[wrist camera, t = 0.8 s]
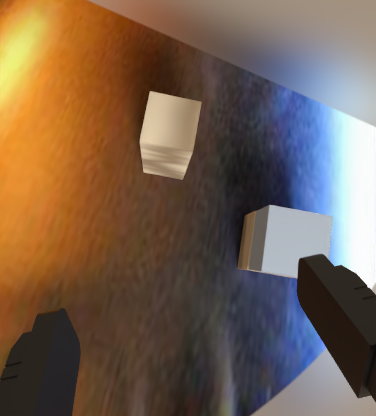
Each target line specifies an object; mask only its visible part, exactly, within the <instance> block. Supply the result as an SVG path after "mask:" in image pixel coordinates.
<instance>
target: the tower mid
mask: <svg viewBox="0 0 376 416" xmlns="http://www.w3.org/2000/svg"><path fill="white" fill-rule="evenodd" d="M331 227H332V216H328V215H323V214H317V213H312V212H306V211H301V210H296V209H290V208H285V207H279V206H274V205H268V206H266V207H264V208H262V209H260V210H257V211H256V216H255V224H254V232H253V239H252V247H251V255H250V262H249V270H253V271H259V272H265V273H271V274H277V275H283V276H289V277H295V278H297V277H298V261H299V259H300V258H302V257H307V256H312V255H316V254H324V255H325V256H326V257H327V258H328V260H329V250H330V239H331Z"/></svg>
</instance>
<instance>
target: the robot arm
mask: <svg viewBox="0 0 376 416" xmlns="http://www.w3.org/2000/svg"><path fill="white" fill-rule="evenodd" d="M297 296H298V300H299V303H300V305H301V307H302V309H303V311H304V312H305V314H306V315H307V317H308V319H309V320H310V322H311V323H312V325H313V327H314V328H315V330H316V331H317V333H318V335H319V336H320V338H321V340H322V341H323V343H324V344H325V346H326V348H327V349H328V351H329V352H330V354H331V356H332V357H333V359H334V360H335V362H336V364H337V365H338V367H339V368H340V370H341V372H342V373H343V375H344V377H345V378H346V380H347V381H348V383H349V385H350V386H351V388H352V389H353V391H354V393H355V394H356V396H357V397H358V398H362V397H366V396H370V395H371V396H372V397H373V399H374V400H375V402H376V295H375V293H374V292H373V291H372V290H371V289H370V288H368V287H367V285H366V284H365V283H364V282H363V281H362V279H361V278H360V277H359V276H358V275H357V274H356V273H354V272H352V271H351V270H349V269H347V268H345V267H344V266H342V265H339V266H335V267H334V265H333V264H332V263H331V262H330V261H329V260H328V258H327V257H326V256H325V255H324V254H316V255H312V256H307V257H302V258H300V259H299V261H298V277H297ZM79 363H80V343H79V339H78V337H77V334H76V332H75V330H74V328H73V326H72V323H71V321H70V319H69V317H68V315H67V312H66V311H65V309H64V308H60V309H55V310H50V311H46V312H41V313H38V315H37V316H36V319H35V322H34V325H33V328H32V332H27V333H23V334H22V335H21V337H20V338H19V339H18V341H17V342H16V343H15V345H14V346H13V347H12V349H11V351H10V354H9V356H8V359H7V362H6V365H5V366H6V368H5V369H4V370H3V373H2V376H1V378H0V380H1V381H0V416H72V411H73V404H74V397H75V390H76V383H77V376H78V369H79Z"/></svg>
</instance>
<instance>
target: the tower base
mask: <svg viewBox="0 0 376 416" xmlns="http://www.w3.org/2000/svg"><path fill="white" fill-rule="evenodd" d="M255 216H256V211H254V212H252V213H250V214H247V215H245V218H244V225H243V232H242V239H241V247H240V254H239V261H238V269H244V270H249V262H250V255H251V247H252V239H253V232H254V224H255ZM250 271H253V270H250ZM256 272H259V271H256ZM262 273H265V272H262ZM267 274H271V273H267ZM273 275H277V274H273ZM279 276H283V275H279ZM285 277H289V276H285ZM291 278H295V277H291Z"/></svg>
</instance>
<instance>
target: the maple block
mask: <svg viewBox="0 0 376 416" xmlns="http://www.w3.org/2000/svg"><path fill="white" fill-rule="evenodd" d="M201 103H202V102H199V101H194V100H190V99H185V98H180V97H175V96H171V95H166V94H161V93H157V92H152V91H150V93H149V98H148V103H147V108H146V112H145V117H144V122H143V127H142V132H141V136H140V148H141V156H142V164H143V172H145V173H150V174H155V175H161V176H166V177H171V178H176V179H181V180H183V177H184V175H185V172H186V169H187V166H188V163H189V161H190V158H191V155H192V152H193V148H194V142H195V136H196V131H197V125H198V120H199V114H200V108H201Z"/></svg>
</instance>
